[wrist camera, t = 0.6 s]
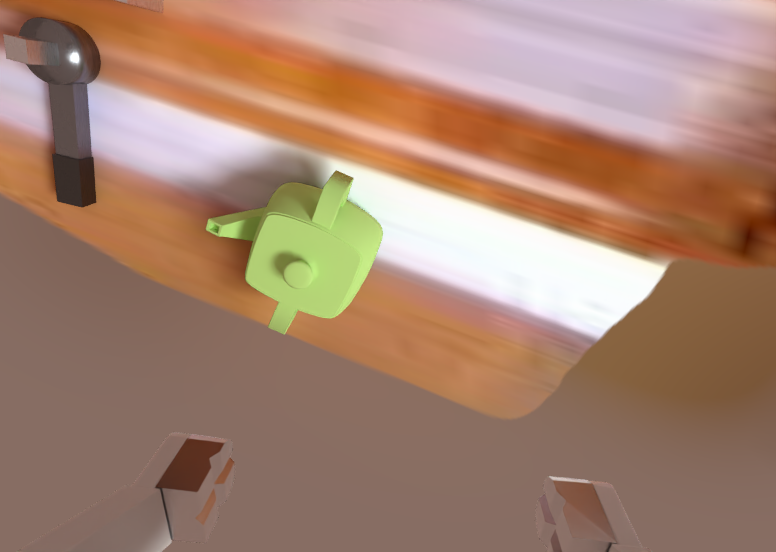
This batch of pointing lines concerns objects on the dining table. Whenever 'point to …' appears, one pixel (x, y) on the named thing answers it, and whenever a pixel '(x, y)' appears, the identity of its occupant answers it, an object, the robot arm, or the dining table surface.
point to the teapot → (306, 248)
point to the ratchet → (63, 97)
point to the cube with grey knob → (146, 4)
